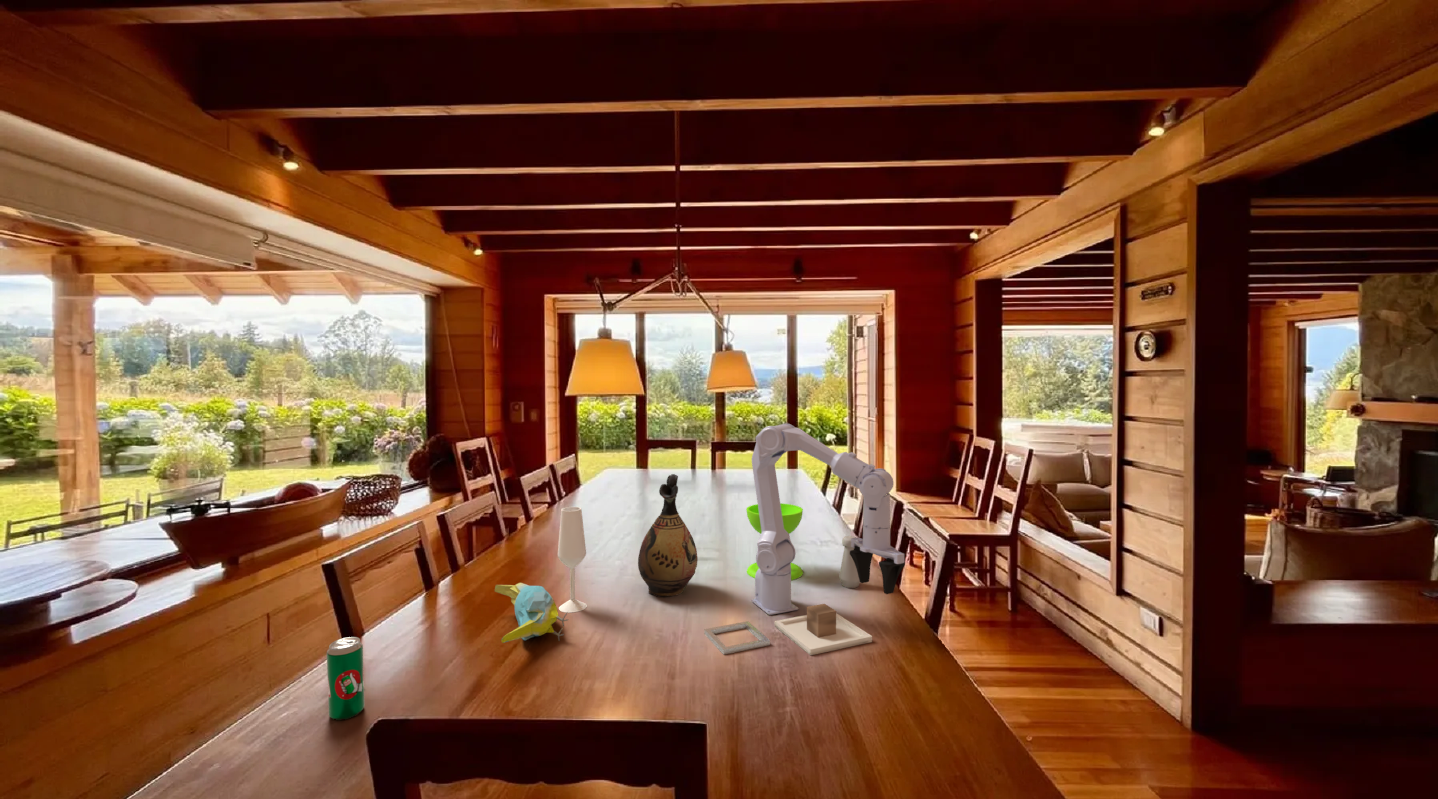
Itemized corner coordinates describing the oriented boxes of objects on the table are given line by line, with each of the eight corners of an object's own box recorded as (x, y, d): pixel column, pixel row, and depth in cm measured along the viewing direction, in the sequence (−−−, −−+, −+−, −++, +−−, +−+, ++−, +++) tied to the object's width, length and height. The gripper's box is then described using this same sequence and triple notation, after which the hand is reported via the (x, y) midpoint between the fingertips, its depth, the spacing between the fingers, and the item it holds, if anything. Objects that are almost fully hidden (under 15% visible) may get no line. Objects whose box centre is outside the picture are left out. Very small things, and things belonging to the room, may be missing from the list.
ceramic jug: (696, 601, 146) (695, 481, 145) (633, 601, 147) (632, 481, 146) (699, 578, 163) (698, 470, 162) (644, 578, 164) (642, 470, 163)
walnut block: (806, 629, 129) (806, 606, 129) (824, 625, 131) (824, 603, 130) (818, 637, 125) (818, 614, 125) (836, 634, 127) (836, 610, 126)
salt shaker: (861, 590, 154) (861, 540, 153) (839, 588, 155) (839, 539, 154) (860, 582, 159) (861, 534, 159) (839, 581, 160) (839, 533, 160)
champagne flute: (575, 599, 148) (574, 504, 147) (592, 606, 144) (591, 508, 143) (552, 607, 143) (551, 509, 142) (569, 614, 139) (568, 513, 138)
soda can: (339, 705, 101) (337, 636, 101) (370, 704, 101) (368, 635, 101) (322, 722, 96) (319, 650, 95) (354, 721, 96) (352, 648, 96)
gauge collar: (704, 633, 128) (704, 629, 128) (748, 625, 132) (748, 621, 132) (723, 654, 119) (723, 649, 118) (770, 645, 123) (770, 640, 123)
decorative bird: (556, 605, 145) (555, 568, 145) (576, 659, 117) (575, 612, 117) (495, 615, 140) (494, 576, 139) (502, 673, 112) (500, 624, 111)
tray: (774, 626, 132) (774, 621, 132) (831, 615, 138) (831, 610, 138) (810, 655, 118) (810, 649, 118) (872, 641, 124) (872, 636, 124)
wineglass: (740, 578, 163) (740, 513, 162) (753, 560, 178) (753, 501, 178) (798, 584, 159) (798, 517, 158) (806, 565, 174) (806, 504, 173)
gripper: (840, 520, 133) (840, 580, 134) (886, 536, 120) (886, 601, 121) (864, 517, 137) (864, 575, 137) (911, 531, 124) (911, 595, 124)
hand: (876, 587), depth 129 cm, fingers open, 7 cm apart
